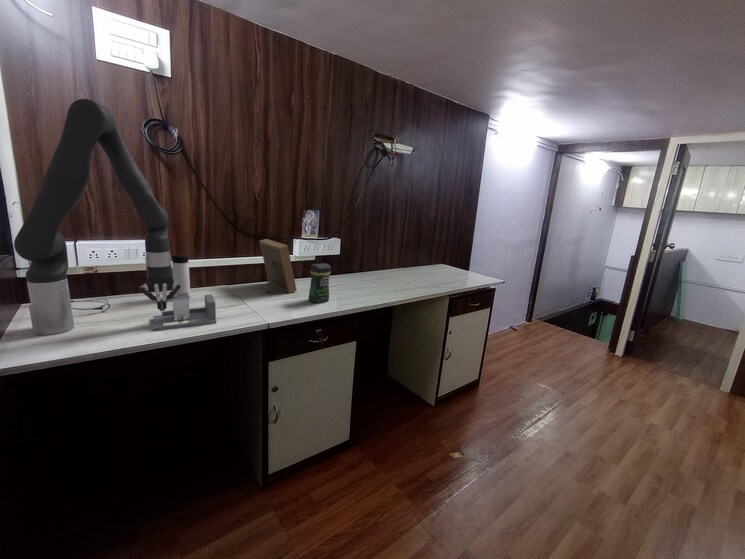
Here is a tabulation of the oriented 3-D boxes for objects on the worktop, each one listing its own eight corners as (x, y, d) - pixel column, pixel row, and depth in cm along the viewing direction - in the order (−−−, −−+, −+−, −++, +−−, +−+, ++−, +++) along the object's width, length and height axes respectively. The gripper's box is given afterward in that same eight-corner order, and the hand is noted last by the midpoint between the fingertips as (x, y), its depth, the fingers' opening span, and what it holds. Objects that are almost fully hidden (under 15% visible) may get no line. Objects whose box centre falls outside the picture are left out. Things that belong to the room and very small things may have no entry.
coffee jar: (315, 304, 155) (316, 266, 151) (306, 299, 161) (307, 262, 156) (331, 301, 162) (334, 264, 157) (322, 296, 167) (324, 261, 163)
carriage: (174, 323, 118) (173, 301, 115) (173, 315, 125) (171, 293, 123) (191, 321, 120) (189, 299, 118) (188, 313, 127) (187, 292, 125)
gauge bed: (153, 331, 114) (151, 308, 112) (153, 319, 123) (151, 298, 121) (216, 323, 125) (215, 302, 123) (211, 312, 134) (211, 293, 132)
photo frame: (276, 282, 186) (276, 238, 179) (296, 292, 171) (297, 244, 164) (250, 285, 175) (249, 239, 169) (270, 296, 161) (270, 246, 154)
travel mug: (171, 299, 145) (168, 255, 140) (179, 295, 151) (176, 252, 146) (185, 300, 145) (183, 256, 140) (193, 296, 151) (190, 253, 146)
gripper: (135, 267, 109) (139, 316, 113) (181, 265, 116) (184, 311, 120) (136, 262, 115) (140, 308, 119) (179, 260, 122) (182, 305, 126)
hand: (162, 310), depth 119 cm, fingers closed
